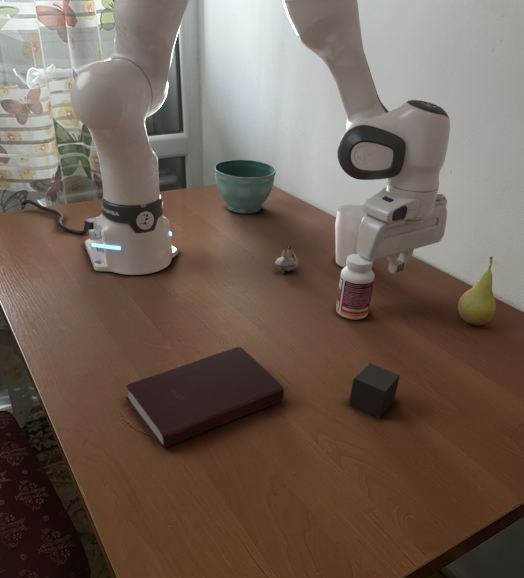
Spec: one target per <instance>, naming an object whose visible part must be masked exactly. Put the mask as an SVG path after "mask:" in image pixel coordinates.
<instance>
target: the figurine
mask: <svg viewBox="0 0 524 578" xmlns="http://www.w3.org/2000/svg"><path fill="white" fill-rule="evenodd" d="M292 253H293V254H292ZM298 264H299V259H298V256H296V254H295V253H294V250H293V249H292V245H288V246H287V248H286V250H284V249H282V252H281V253H280V257H278V258H277V259H276V260H275V262H274V265H275V267H276V268H277V270H279V271H280V273H282V274H285V273H286V272H290V271H292V270H294V269H296V268H297V267H298Z"/></svg>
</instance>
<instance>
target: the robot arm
mask: <svg viewBox="0 0 524 578" xmlns="http://www.w3.org/2000/svg"><path fill="white" fill-rule="evenodd" d="M281 1H282V2H281V3H282V5H283V7H284V11H285V13H286V15H287V18H288V20H289V22H290V24H291V27H292V28H293V30H294V33H295V34H296V36H297V37H298V39H299V41H300V42H301V44H302V45H303V46H304V47H305V48H307V49H309V50H310V51H311V52H313V53H314V54H316V55H317V56H318V57H319V58H320V59H321V60H322V61H323V62H324V63H325V65H326V66H327V68H328V69H329V72H330V74H331V75H332V78H333V81H334V84H335V88H336V89H337V92H338V95H339V98H340V101H341V103H342V107H343V109H344V111H345V115H346V129H345V131H344V133H343V134H342V136H341V138H340V140H339V143H338V145H337V160H338V164H339V166H340V167H341V169H342V171H344V173H345V174H346V175H348V176H349V177H351V178H352V179H355V180H359V181H373V180H375V181H377V180H386V179H388V180H387V182H386V184H387V185H386V186H385V187H383V188H382V189H381V190H380V191H378V192H377V193H375V194H374V195H373V196H371V197H370V198H367V199H366V200H364V202H363V204H362V205H363V212H365V213H366V215H365V216H364V217H363V219H362V221H361V223H360V227H359V232H358V238H357V245H356V251H357V253H358V255H359V256H361V257H362V258H364V259H366V260H368V261H373V262H374V261H377V260H381V259H384V258H386V259H387V262H388V268H387V271H388V272H389V273H391V274H397V273H400V272H404V271H405V270H406V267H407V264H408V262H409V260H410V259H411V257H412V256H413V254H414V251H415V250H416V249H419V248H423V247H426V246H430V245H433V244H437V243H439V242H441V241H442V239H444V236H445V231H446V227H447V218H448V210H447V203H448V199H447V198H446V195H444V193H438V192H439V188H440V172H441V170H442V168H443V166H444V163H445V161H446V157H447V150H448V146H449V141H450V133H451V132H450V130H451V119H450V116H449V115H448V112H447V111H446V110H445V109H443V108H442V107H441V106H438V105H437V104H435V103H432V102H428V101H425V100H417V99H411V100H407V101H405V103H403V104H402V105H399V106H398V107H396V108H395V109H392V110H390V111H389V110H388V109H387V108H386V106H385V105H384V104H383V102H382V101H381V98H380V97H379V94H378V92H377V87H376V85H375V82H374V79H373V75H372V73H371V69H370V67H369V63H368V60H367V57H366V53H365V50H364V45H363V38H362V29H361V20H360V11H359V3H358V0H281ZM189 3H190V0H114V2H113V5H112V17H113V20H114V38H113V39H114V41H113V47H112V52H111V54H110V56H109V58H108V59H106V60H102V61H97V62H95V63H91V64H89V65H88V66H86V68H84V69H83V70H82V71H81V72H80V73H79V74H78V75H77V76H76V77H75V78H74V79H73V82H72V84H71V87H70V103H71V106H72V110H73V111H74V114H75V115H76V117H77V118H78V120H79V121H80V122H81V123H82V124H83V125H84V126H85V127H86V128H87V130H88V132H89V134H90V136H91V139H92V142H93V144H94V148H95V150H96V154H97V157H98V162H99V169H100V177H101V185H102V192H103V193H102V194H101V196H102V197H101V203H100V207H101V213H100V215H98V216H95V217H90V218H86V219H84V220H83V222H84V223H83V224H84V225H83V230H76V229H73V228H71V227H68V226H67V225H65V224H63V223H62V222H63V220H64V214H63V213H62V212H60V211H59V210H57V209H54V208H50V207H47V206H44V205H43V204H39V203H38V202H37V201H35V200H32V199H24V200H23V201H22V203H21V205H22V206H25V205H27V204H29V205H32V206H33V207H36V208H37V209H40V210H42V211H46V212H48V213H52V214H55V215H57V216H58V220H57V226H58V227H59V228H61V229H62V230H64V231H66V232H68V233H71V234H75V235H86V234H87V233H88V237H89V238H88V239H86V240H84V247H85V249H86V252H87V255H88V257H89V259H90V261H91V264H92V268H93V270H95V271H97V272H110V273H115V274H120V275H127V276H141V275H148V274H153V273H156V272H159V271H162V270H164V269H165V268H168V266H169V265H170V264H171V262H172V259H173V258H175V257H176V256H178V248H176V247H175V246H173V244H172V236H173V232H172V231H171V227H170V221H169V218H167V217H165V216H164V215H163V214H164V202H163V197H162V195H161V193H160V177H159V176H160V175H159V158H158V156H157V154H156V152H155V151H154V150H153V148H152V146H151V143H150V138H149V136H148V132H147V128H146V119H147V118H148V117H149V118H150V116H153V115H154V114H155V113H157V112H158V111H159V110H160V108H161V107H162V105H164V102H165V100H166V99H167V97H168V93H169V76H170V71H171V65H172V59H173V55H174V49H175V45H176V41H177V38H178V36H179V35H178V34H179V32H180V29H181V26H182V23H183V20H184V17H185V14H186V11H187V9H188V6H189Z"/></svg>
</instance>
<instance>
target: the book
mask: <svg viewBox="0 0 524 578" xmlns="http://www.w3.org/2000/svg"><path fill="white" fill-rule="evenodd" d="M125 388H126V389H127V390H128V395H127V396H125V399H126V400H127V402H128V403H129V405H130V406H131V408H132V409H133V411H134V412H135V413H136V415H137V416H138V418H139V419H140V421H142V423H143V424H144V425H145V427H146V428H147V430H148V431H149V432H150V433H151V435H152V436H153V437H154V439H155V440H156V441H157V443H158V444H159V445H160V446H161V447H162V448H163V449H165V448H168V447H170V446H172V445H175V444H177V443H180V442H183V441H185V440H188V439H190V438H192V437H195V436H197V435H199V434H202V433H204V432H207V431H209V430H212V429H215V428H217V427H219V426H222V425H224V424H227V423H231V422H232V421H234V420H237V419H240V418H242V417H245V416H248V415H250V414H253V413H256V412H258V411H261V410H263V409H266V408H268V407H271V406H273V405H276V404H279V403H281V402H282V401H283V399H284V394H285V389H284V387H283V386H282V384H281V383H280V382H279V381H278V380H277V379H276V378H275V377H274V376H273V375H272V374H271V373H270V372H269V371H268V370H266V368H265V367H263V365H262V364H260V363H259V361H257V360H256V359H255V358H254V357H253V356H252V355H251V354H250V353H248V352H247V351H246V350H245V349H244V348H242V347H241V346H237V347H233V348H231V349H230V348H229V349H227V350H224V351H221V352H218V353H215V354H212V355H209V356H207V357H204V358H201V359H198V360H195V361H193V362H189V363H186V364H184V365H181V366H178V367H174V368H172V369H169V370H166V371H163V372H160V373H157V374H153V375H151V376H148V377H144V378H142V379H139V380H137V381H133V382H131V383H128V384H126V386H125Z"/></svg>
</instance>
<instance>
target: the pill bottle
mask: <svg viewBox="0 0 524 578" xmlns="http://www.w3.org/2000/svg"><path fill="white" fill-rule="evenodd" d="M373 264H374V261H368V260H366V259H364V258H362V257H361V256H359V255H358V254H352V255H349V256H348V257H347V261H346V267H342V269H341V271H340V276H339V284H338V291H337V298H336V306H335V310H336V313H337V314H338V315H339V316H340V317H342V318H345V319H347V320H353V321H354V320H363V319H364V318H366V317H367V316H368V315H369V311H370V307H371V301H372V300H371V299H372V296H373V295H372V294H373V289H374V284H375V272H374V271H373V270H372V268H373Z"/></svg>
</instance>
